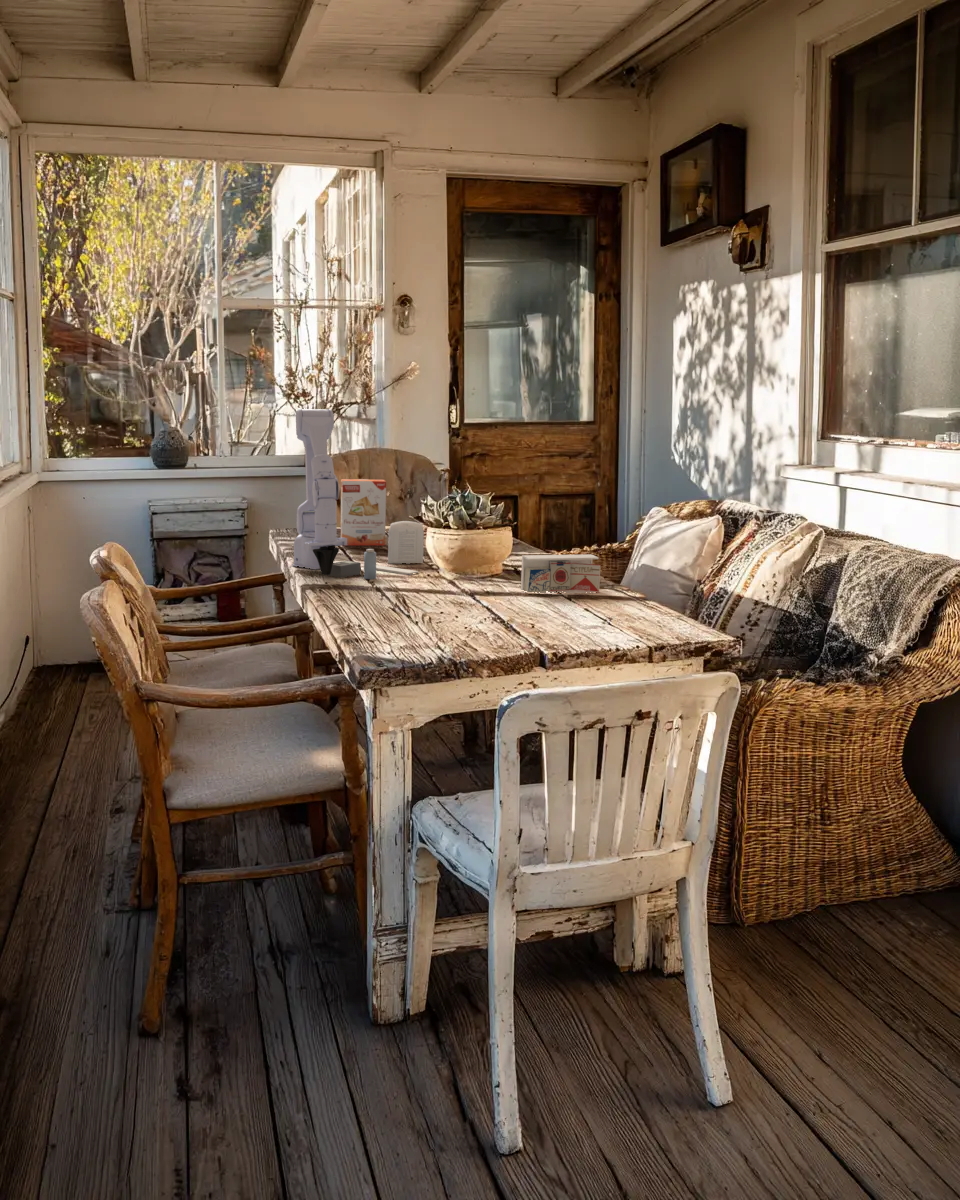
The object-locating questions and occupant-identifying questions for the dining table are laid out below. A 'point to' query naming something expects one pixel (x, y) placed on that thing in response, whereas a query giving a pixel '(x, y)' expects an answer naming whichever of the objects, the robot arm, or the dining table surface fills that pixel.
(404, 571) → the batten
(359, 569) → the box
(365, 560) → the peg
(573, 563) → the cigarette display
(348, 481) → the cracker box
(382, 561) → the dining table surface
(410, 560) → the light grey rounded block
